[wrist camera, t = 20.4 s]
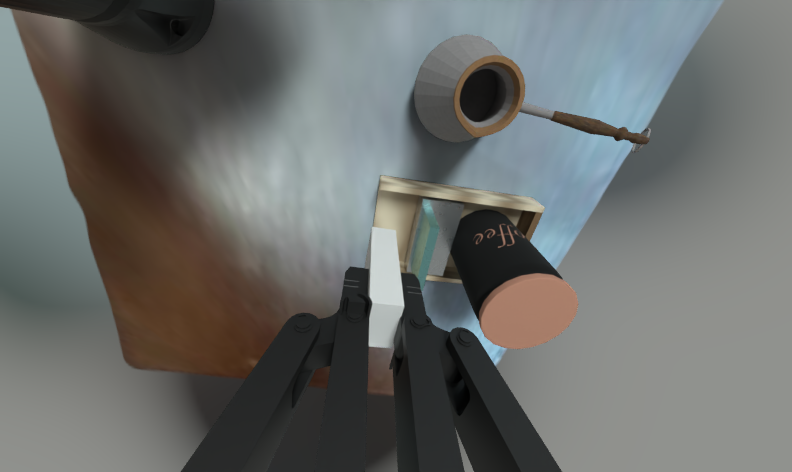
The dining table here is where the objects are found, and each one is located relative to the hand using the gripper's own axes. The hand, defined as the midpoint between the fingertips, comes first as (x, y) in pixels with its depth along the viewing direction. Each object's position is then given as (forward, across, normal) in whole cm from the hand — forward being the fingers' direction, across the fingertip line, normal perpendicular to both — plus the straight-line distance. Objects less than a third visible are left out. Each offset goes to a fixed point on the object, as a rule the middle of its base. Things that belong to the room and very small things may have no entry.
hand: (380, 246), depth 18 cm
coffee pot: (+25, +14, +9) cm, 30 cm away
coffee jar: (+24, +18, -10) cm, 32 cm away
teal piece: (+24, +10, -11) cm, 28 cm away
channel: (+24, +13, -10) cm, 30 cm away
